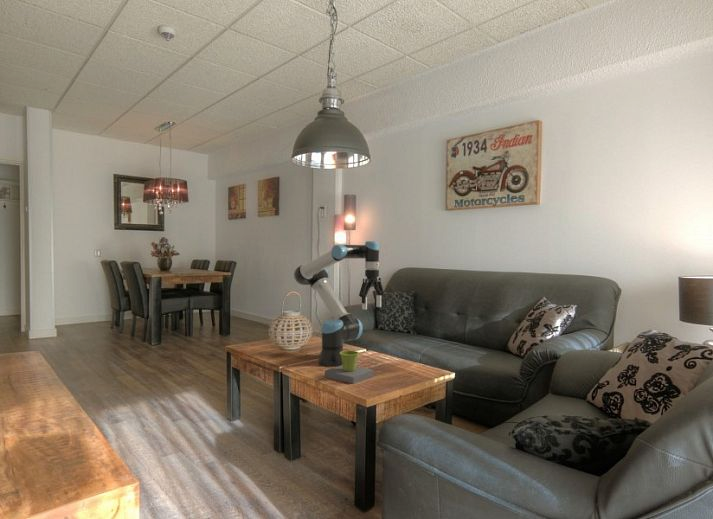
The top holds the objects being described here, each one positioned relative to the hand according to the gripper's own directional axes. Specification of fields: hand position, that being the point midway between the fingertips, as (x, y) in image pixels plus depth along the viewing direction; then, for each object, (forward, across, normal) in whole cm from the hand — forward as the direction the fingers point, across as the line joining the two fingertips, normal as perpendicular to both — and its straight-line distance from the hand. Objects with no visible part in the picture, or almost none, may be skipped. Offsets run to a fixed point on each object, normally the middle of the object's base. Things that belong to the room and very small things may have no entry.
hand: (371, 308), depth 233 cm
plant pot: (+28, -26, -5) cm, 38 cm away
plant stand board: (+31, -26, -5) cm, 41 cm away
